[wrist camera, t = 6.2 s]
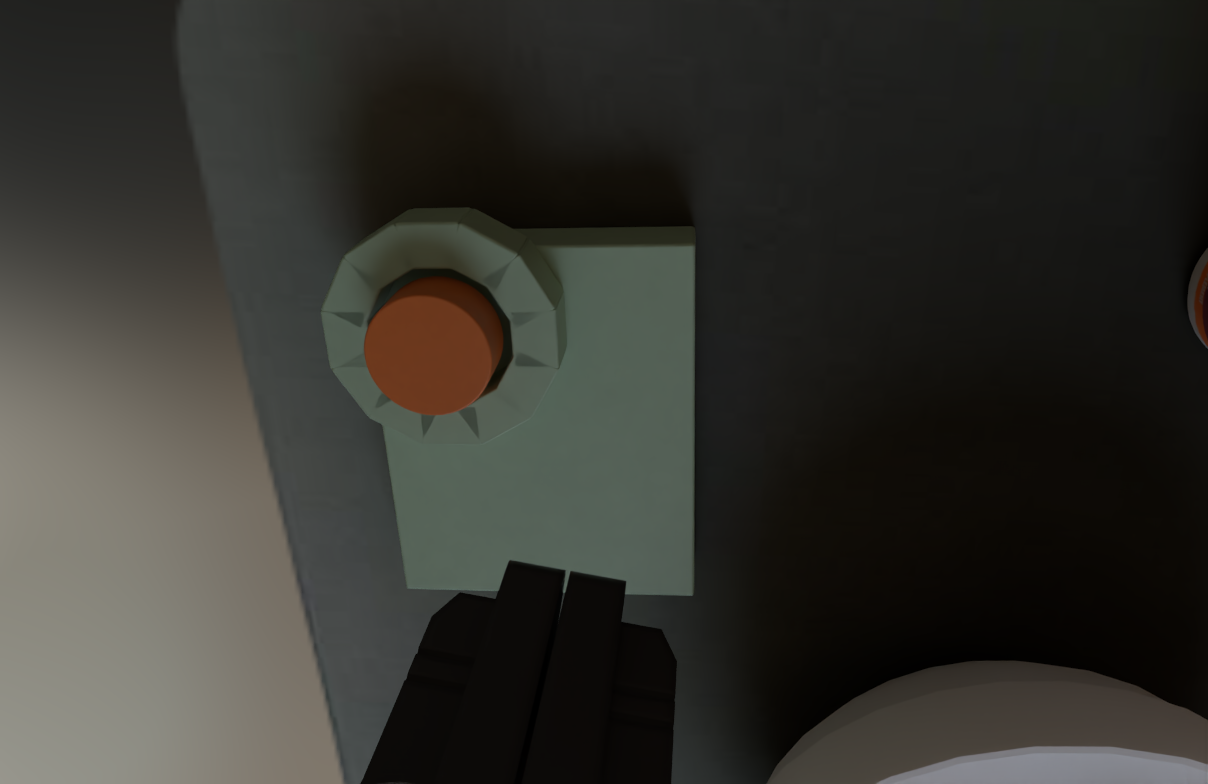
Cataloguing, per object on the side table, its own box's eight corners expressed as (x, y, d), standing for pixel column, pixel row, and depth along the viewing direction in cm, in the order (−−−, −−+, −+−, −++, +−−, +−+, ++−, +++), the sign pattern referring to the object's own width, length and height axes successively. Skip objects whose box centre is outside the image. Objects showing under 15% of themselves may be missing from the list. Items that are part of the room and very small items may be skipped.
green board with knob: (352, 193, 26) (304, 223, 23) (695, 187, 25) (695, 218, 22) (406, 555, 31) (372, 621, 28) (694, 561, 30) (694, 631, 27)
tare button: (374, 275, 24) (354, 295, 22) (498, 274, 23) (485, 294, 22) (391, 390, 25) (372, 415, 24) (508, 391, 25) (497, 416, 23)
